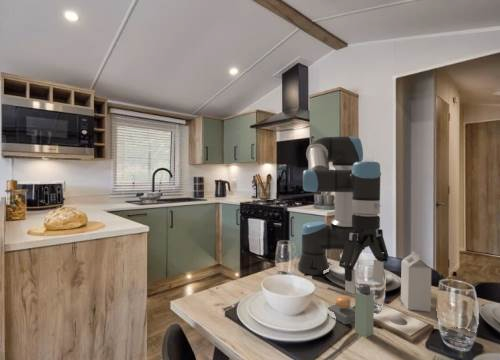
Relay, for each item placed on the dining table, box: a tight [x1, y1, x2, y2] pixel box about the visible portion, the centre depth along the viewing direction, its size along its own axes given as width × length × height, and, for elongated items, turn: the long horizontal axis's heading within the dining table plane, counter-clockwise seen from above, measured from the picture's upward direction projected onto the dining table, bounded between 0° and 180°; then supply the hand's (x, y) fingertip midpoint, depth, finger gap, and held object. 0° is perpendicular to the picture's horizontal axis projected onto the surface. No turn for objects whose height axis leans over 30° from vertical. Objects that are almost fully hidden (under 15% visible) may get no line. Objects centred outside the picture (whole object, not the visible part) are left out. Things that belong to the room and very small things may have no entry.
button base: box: [327, 304, 355, 325], centre depth 86 cm, size 7×7×2 cm
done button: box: [335, 295, 351, 308], centre depth 86 cm, size 4×4×2 cm
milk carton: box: [400, 250, 432, 313], centre depth 94 cm, size 7×7×19 cm
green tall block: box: [354, 283, 375, 339], centre depth 78 cm, size 4×4×14 cm
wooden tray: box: [373, 303, 434, 344], centre depth 84 cm, size 18×13×2 cm
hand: (364, 286), depth 77 cm, fingers open, 13 cm apart
